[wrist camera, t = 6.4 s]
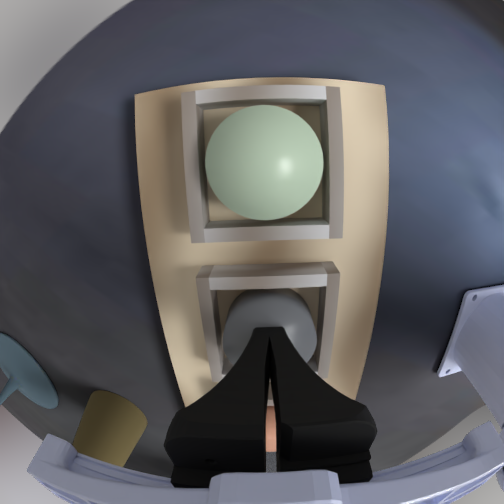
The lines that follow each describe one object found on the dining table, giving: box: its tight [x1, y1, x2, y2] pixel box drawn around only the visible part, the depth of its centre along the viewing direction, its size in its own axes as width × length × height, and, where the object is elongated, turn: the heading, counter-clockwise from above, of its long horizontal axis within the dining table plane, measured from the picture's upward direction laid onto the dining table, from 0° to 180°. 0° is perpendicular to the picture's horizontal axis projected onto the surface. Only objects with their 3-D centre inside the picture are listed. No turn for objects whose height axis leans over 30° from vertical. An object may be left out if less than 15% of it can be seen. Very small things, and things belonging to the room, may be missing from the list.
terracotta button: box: [266, 406, 276, 452], centre depth 16 cm, size 4×4×2 cm
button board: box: [135, 77, 389, 407], centre depth 14 cm, size 12×24×3 cm, turn 3°
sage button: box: [205, 105, 323, 220], centre depth 11 cm, size 4×4×2 cm
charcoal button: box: [222, 288, 317, 365], centre depth 13 cm, size 4×4×2 cm
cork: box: [72, 390, 148, 467], centre depth 15 cm, size 6×6×11 cm
